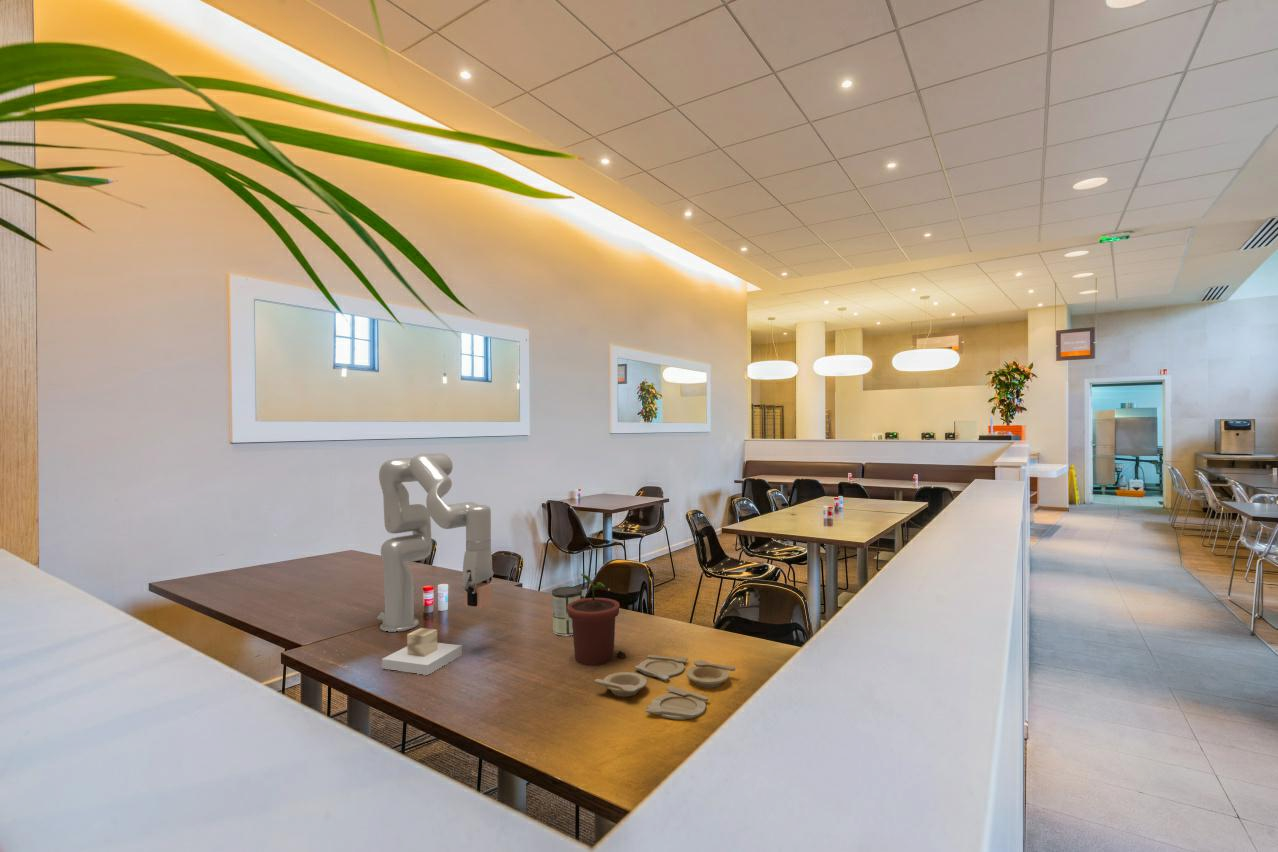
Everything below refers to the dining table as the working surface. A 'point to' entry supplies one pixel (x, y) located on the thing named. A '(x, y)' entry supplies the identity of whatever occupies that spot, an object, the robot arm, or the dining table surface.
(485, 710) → the dining table surface
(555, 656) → the dining table surface
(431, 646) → the brass cube
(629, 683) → the tableware set
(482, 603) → the terracotta cube
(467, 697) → the dining table surface
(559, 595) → the coffee can
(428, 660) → the grey base board
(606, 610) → the potted plant
